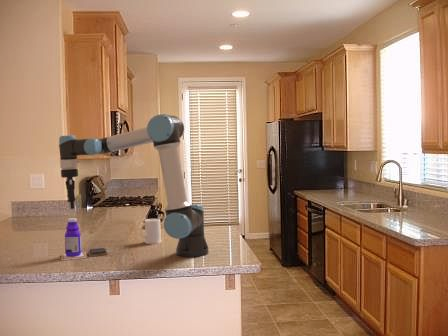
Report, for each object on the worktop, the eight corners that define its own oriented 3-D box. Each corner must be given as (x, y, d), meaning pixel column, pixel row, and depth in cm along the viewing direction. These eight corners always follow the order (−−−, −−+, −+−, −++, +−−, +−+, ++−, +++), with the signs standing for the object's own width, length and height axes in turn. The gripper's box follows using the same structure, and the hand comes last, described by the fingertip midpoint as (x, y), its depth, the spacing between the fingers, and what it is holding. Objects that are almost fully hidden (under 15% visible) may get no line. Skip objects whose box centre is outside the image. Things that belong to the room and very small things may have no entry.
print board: (86, 257, 211) (86, 256, 211) (61, 260, 207) (61, 258, 207) (85, 252, 221) (85, 251, 221) (61, 255, 217) (61, 253, 217)
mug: (142, 245, 232) (141, 222, 232) (137, 242, 240) (136, 220, 239) (163, 242, 238) (163, 220, 237) (158, 239, 246) (157, 217, 245)
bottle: (83, 253, 217) (81, 217, 216) (80, 256, 211) (78, 219, 210) (67, 254, 217) (65, 218, 216) (64, 257, 211) (62, 220, 210)
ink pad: (107, 254, 215) (107, 251, 215) (90, 256, 212) (89, 253, 212) (105, 250, 223) (105, 247, 223) (88, 252, 221) (88, 249, 221)
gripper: (79, 169, 201) (82, 216, 202) (76, 167, 225) (78, 209, 226) (61, 170, 199) (64, 218, 200) (60, 168, 222) (62, 211, 223)
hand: (72, 213), depth 213 cm, fingers open, 13 cm apart
